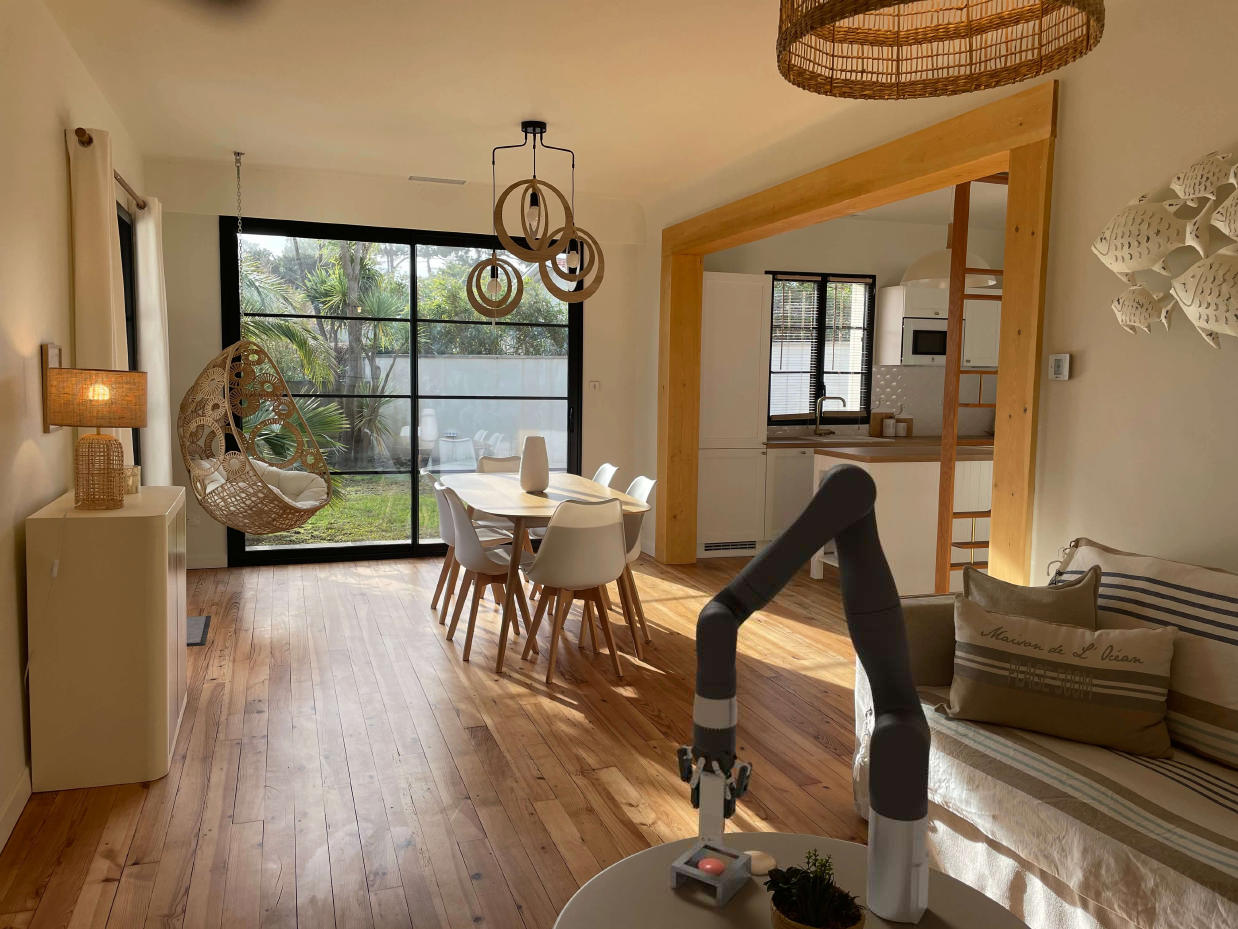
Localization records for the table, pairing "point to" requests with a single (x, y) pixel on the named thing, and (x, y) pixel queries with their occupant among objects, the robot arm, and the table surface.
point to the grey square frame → (725, 882)
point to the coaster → (761, 862)
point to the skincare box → (711, 809)
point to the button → (711, 866)
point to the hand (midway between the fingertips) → (712, 811)
